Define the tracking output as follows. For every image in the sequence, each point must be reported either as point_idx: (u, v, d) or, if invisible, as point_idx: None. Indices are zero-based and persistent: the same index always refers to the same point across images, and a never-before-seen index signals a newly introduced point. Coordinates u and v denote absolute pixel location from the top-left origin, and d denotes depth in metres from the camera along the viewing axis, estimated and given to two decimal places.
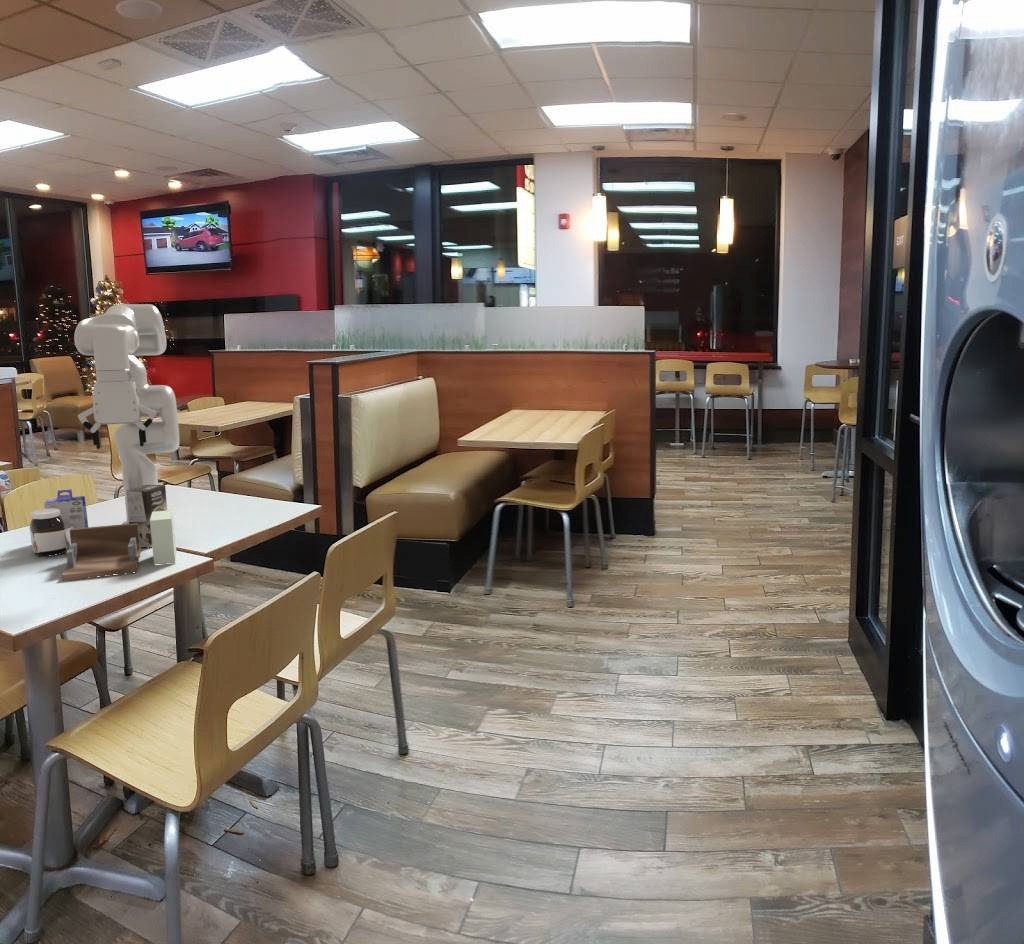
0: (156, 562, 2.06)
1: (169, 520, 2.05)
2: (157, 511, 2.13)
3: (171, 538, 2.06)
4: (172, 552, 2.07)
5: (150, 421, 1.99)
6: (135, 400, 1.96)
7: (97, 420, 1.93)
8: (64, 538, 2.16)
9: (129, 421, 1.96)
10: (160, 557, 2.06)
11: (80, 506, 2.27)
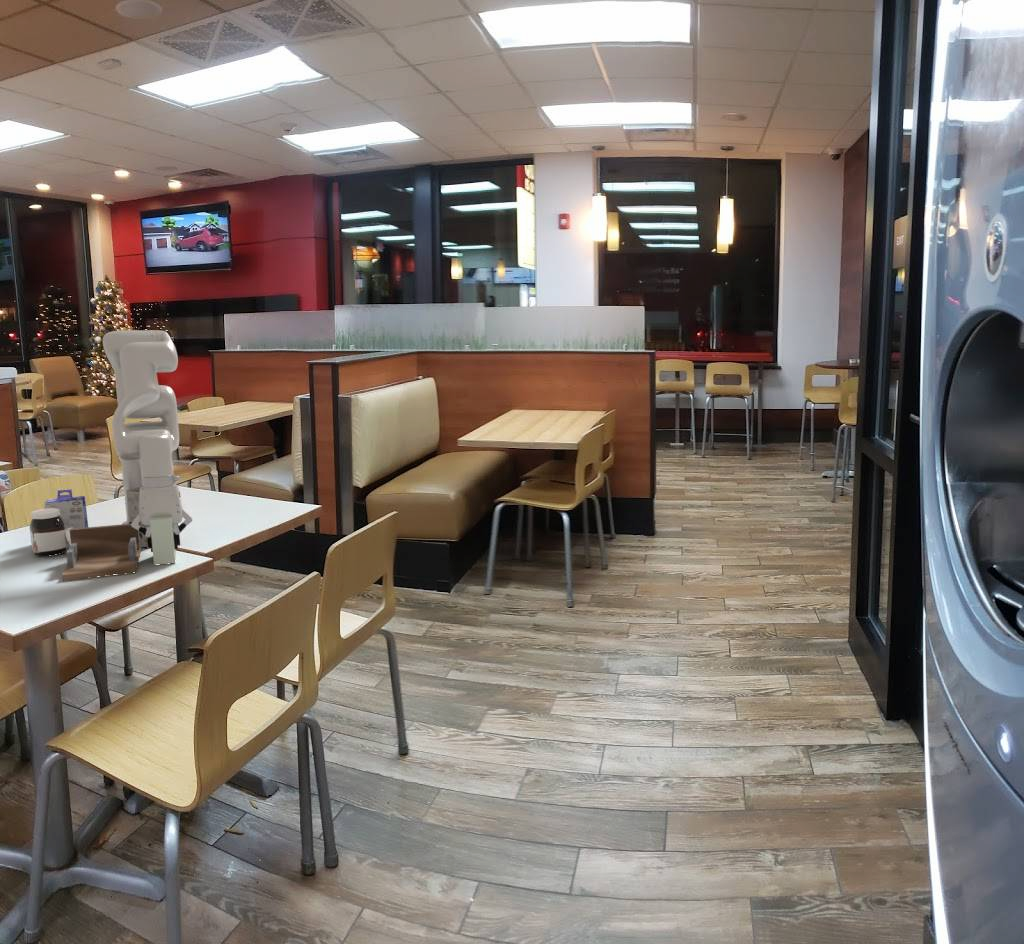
0: (156, 562, 2.06)
1: (169, 520, 2.05)
2: None
3: (171, 538, 2.06)
4: (172, 552, 2.07)
5: (184, 526, 2.10)
6: (178, 503, 2.08)
7: (143, 523, 2.06)
8: (64, 538, 2.16)
9: (173, 522, 2.08)
10: (159, 557, 2.06)
11: (80, 506, 2.27)
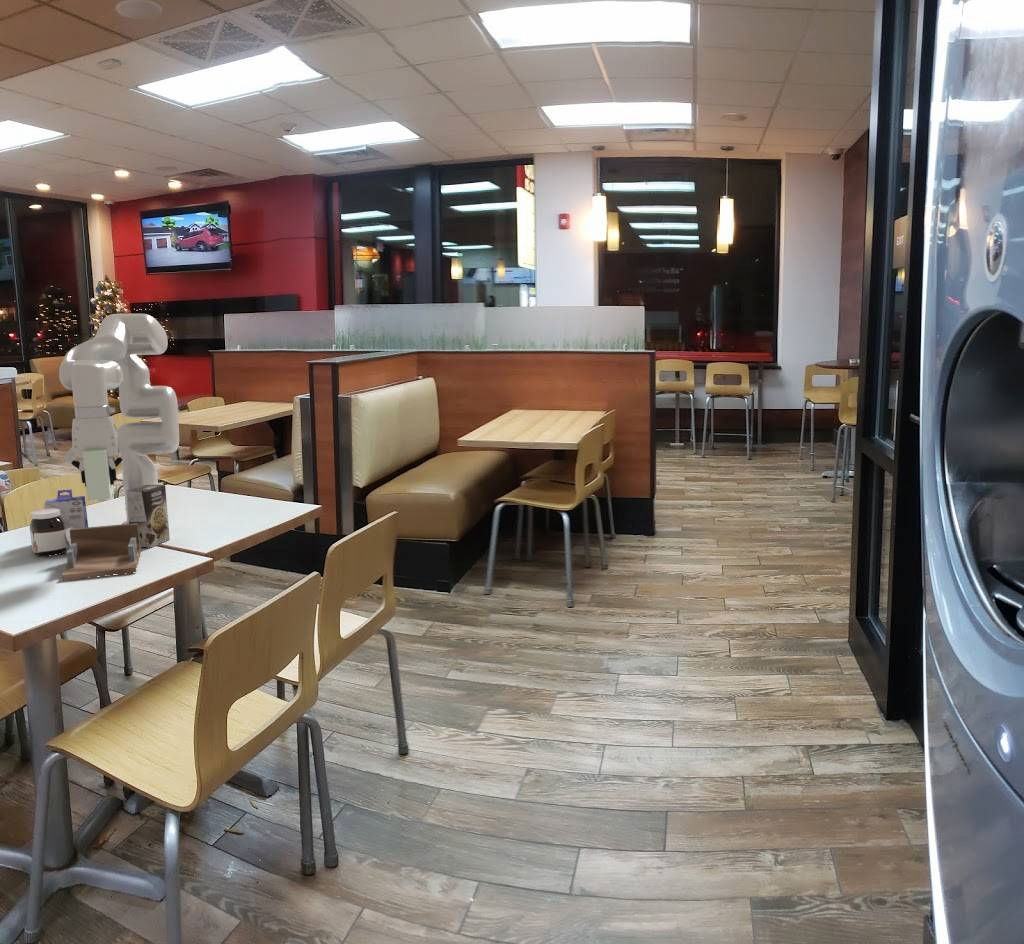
0: (90, 496, 1.98)
1: (103, 452, 1.97)
2: None
3: (105, 471, 1.98)
4: (107, 486, 1.99)
5: (120, 460, 2.02)
6: (113, 435, 2.00)
7: (76, 455, 1.98)
8: (64, 538, 2.16)
9: (108, 456, 2.00)
10: (93, 491, 1.98)
11: (80, 506, 2.27)
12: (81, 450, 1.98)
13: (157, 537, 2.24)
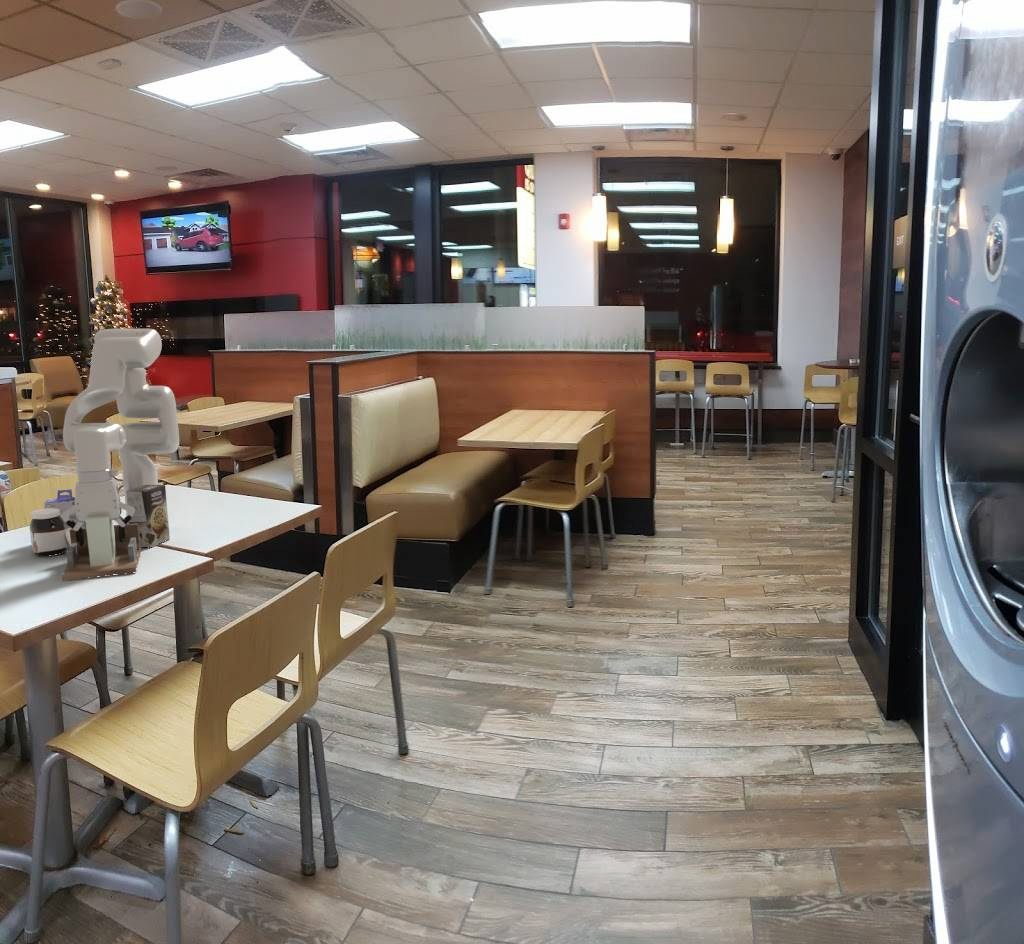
0: (92, 562, 2.01)
1: (106, 519, 2.00)
2: None
3: (108, 538, 2.01)
4: (109, 552, 2.02)
5: (129, 518, 2.05)
6: (115, 498, 2.02)
7: (79, 519, 2.00)
8: (64, 538, 2.16)
9: (110, 518, 2.03)
10: (96, 557, 2.01)
11: None
12: (84, 513, 2.00)
13: (157, 537, 2.24)
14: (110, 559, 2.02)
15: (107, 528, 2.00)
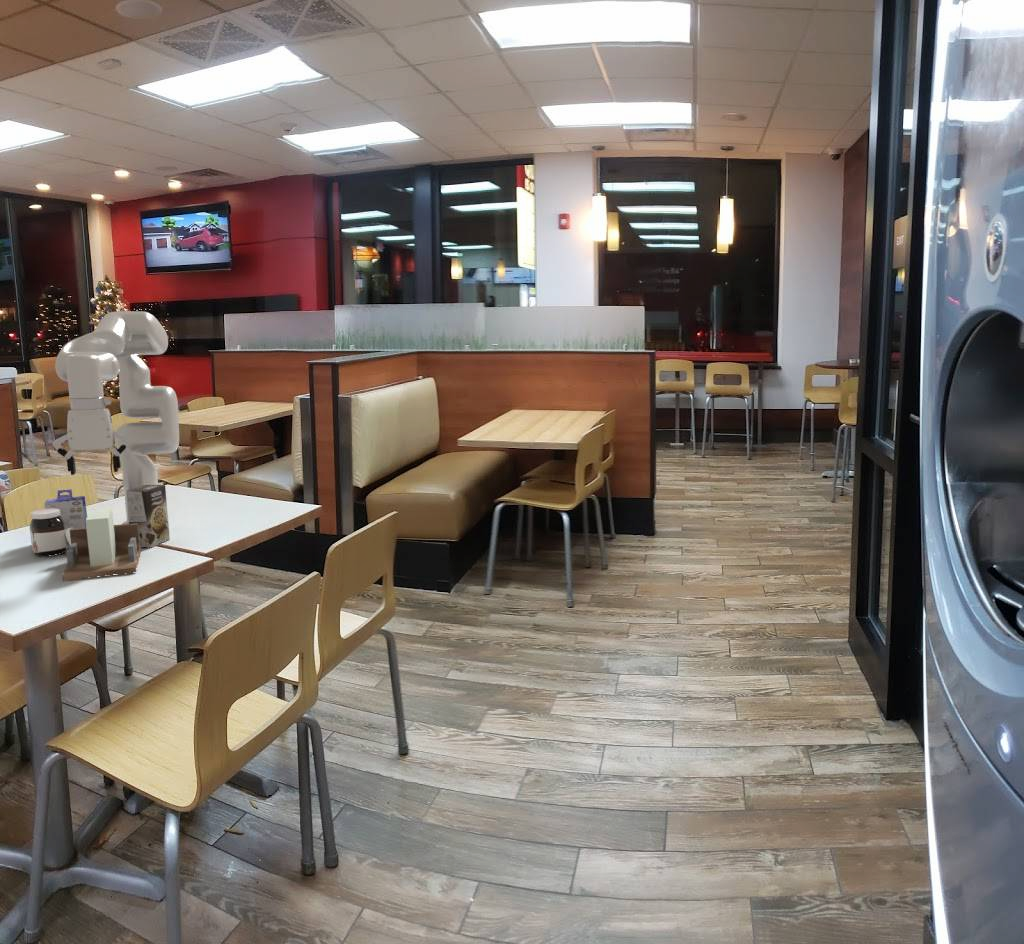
0: (92, 562, 2.01)
1: (106, 519, 2.00)
2: (96, 510, 2.08)
3: (108, 538, 2.01)
4: (109, 552, 2.02)
5: (124, 447, 2.02)
6: (109, 427, 1.99)
7: (71, 447, 1.97)
8: (64, 538, 2.16)
9: (103, 448, 2.00)
10: (96, 557, 2.01)
11: (80, 506, 2.27)
12: (76, 442, 1.97)
13: (157, 537, 2.24)
14: (110, 559, 2.02)
15: (107, 528, 2.00)
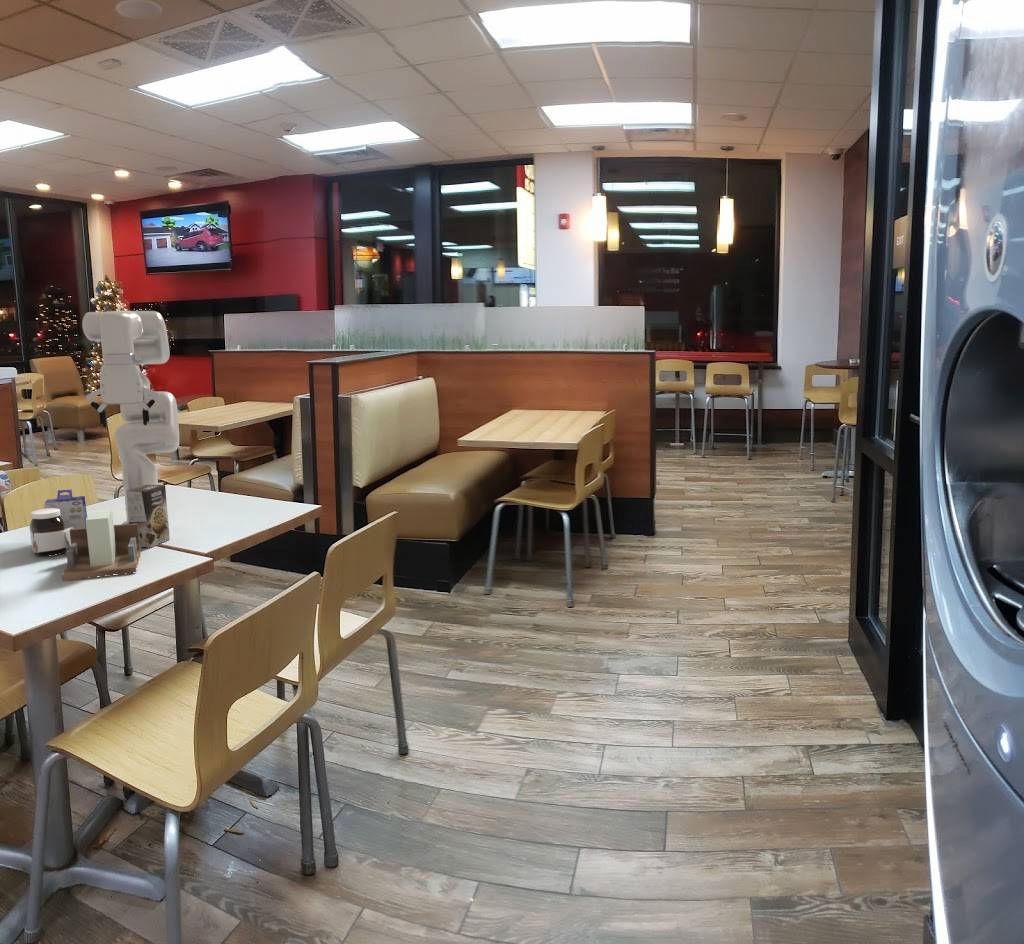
0: (92, 562, 2.01)
1: (106, 519, 2.00)
2: (96, 510, 2.08)
3: (108, 538, 2.01)
4: (109, 552, 2.02)
5: (153, 402, 2.14)
6: (139, 382, 2.11)
7: (104, 400, 2.08)
8: (64, 538, 2.16)
9: (133, 402, 2.11)
10: (96, 557, 2.01)
11: (80, 506, 2.27)
12: (109, 395, 2.08)
13: (157, 537, 2.24)
14: (110, 559, 2.02)
15: (107, 528, 2.00)
